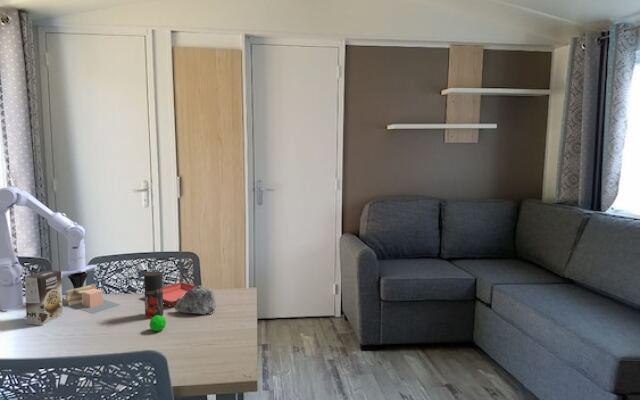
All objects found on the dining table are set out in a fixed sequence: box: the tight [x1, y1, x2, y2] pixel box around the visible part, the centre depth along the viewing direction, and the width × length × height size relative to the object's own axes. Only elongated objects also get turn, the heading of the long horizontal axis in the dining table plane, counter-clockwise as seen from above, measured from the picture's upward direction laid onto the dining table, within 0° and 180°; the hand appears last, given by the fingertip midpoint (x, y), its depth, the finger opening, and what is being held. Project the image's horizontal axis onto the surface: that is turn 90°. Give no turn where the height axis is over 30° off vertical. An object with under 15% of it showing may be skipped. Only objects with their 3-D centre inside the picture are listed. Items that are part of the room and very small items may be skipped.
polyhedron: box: [149, 315, 167, 332], centre depth 141 cm, size 5×5×5 cm
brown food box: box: [24, 270, 64, 326], centre depth 148 cm, size 9×6×16 cm
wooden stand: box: [63, 283, 97, 306], centre depth 166 cm, size 6×11×5 cm, turn 149°
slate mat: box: [62, 298, 121, 315], centre depth 165 cm, size 25×11×1 cm, turn 59°
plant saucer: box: [143, 282, 198, 307], centre depth 173 cm, size 18×18×3 cm
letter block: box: [82, 288, 104, 308], centre depth 163 cm, size 5×5×5 cm
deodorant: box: [143, 270, 164, 319], centre depth 154 cm, size 6×6×15 cm
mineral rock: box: [173, 285, 217, 315], centre depth 158 cm, size 13×11×10 cm
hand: (78, 292), depth 168 cm, fingers closed, pressing on wooden stand
